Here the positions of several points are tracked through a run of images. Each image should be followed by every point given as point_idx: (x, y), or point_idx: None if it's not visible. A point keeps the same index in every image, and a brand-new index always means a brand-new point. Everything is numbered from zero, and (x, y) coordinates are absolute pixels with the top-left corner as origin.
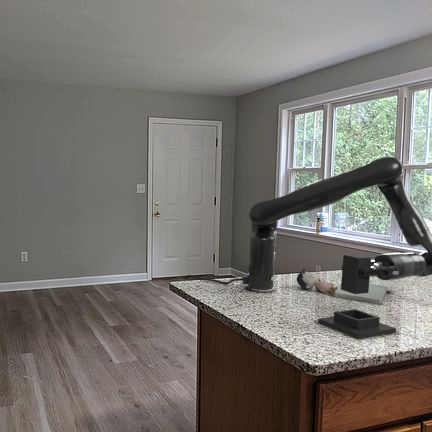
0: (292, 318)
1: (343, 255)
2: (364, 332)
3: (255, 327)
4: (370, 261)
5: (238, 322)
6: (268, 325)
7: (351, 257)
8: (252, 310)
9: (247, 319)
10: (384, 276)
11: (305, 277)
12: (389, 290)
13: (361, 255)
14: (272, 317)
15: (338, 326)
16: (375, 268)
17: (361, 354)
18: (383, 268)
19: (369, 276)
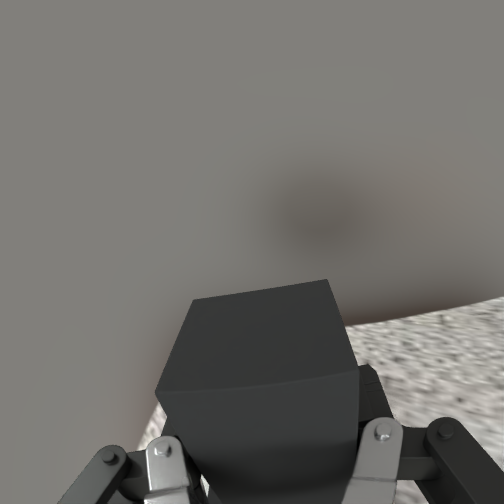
0: (422, 415)
1: (326, 282)
2: (215, 500)
3: (365, 335)
4: (170, 412)
5: (397, 320)
6: (374, 355)
7: (252, 295)
8: (482, 352)
9: (415, 334)
10: (112, 499)
11: None
12: None
13: (271, 374)
14: (431, 376)
15: None
16: (147, 455)
17: (159, 420)
18: (96, 478)
19: (212, 486)
